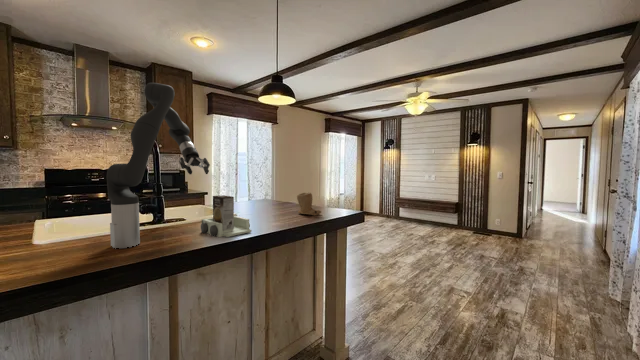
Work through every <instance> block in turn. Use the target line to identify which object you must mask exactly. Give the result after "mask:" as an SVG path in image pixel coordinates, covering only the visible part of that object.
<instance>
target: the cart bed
mask: <svg viewBox="0 0 640 360" xmlns="http://www.w3.org/2000/svg"><path fill="white" fill-rule="evenodd" d="M250 223H251V222H250V218H244V217H241V216H237V215H234V229H229V230H224V231H223V225H222V223H218V222H214V221H213V217H211V218H203V219H201V224H200V231H201V233H203V234H209V235H211V236H212V237H218V238H223V237H227V238H229V237H234V236H238V235H243V234H247V233H248V234H249V233H251V232H252V229H251V228H250V227H251V224H250Z"/></svg>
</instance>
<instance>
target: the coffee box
mask: <svg viewBox="0 0 640 360" xmlns="http://www.w3.org/2000/svg"><path fill="white" fill-rule="evenodd" d="M234 198H235V197H234V196H230V195H224V194H223V195H222V194H221V195H212V218H213V221H214V222H218V223H222V225H223V231H224V230H229V229H234V216H235V211H234V210H235V209H234V208H235V205H234V204H235V199H234Z"/></svg>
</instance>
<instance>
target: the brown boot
mask: <svg viewBox="0 0 640 360" xmlns="http://www.w3.org/2000/svg"><path fill="white" fill-rule="evenodd" d="M296 199H297V203H298V206H299V208H300V209H299V210H298V211H297V214H303V215H306V216H318V215H320V214H321V213H322V210H318V209H314V208H313V194H312V192H309V191H308V192H302V193H298V194H296Z"/></svg>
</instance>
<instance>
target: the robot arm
mask: <svg viewBox="0 0 640 360" xmlns="http://www.w3.org/2000/svg"><path fill="white" fill-rule="evenodd" d="M175 95H176V94H175V89H174V88H173V87H172V86H171V85H169V84H163V83H158V82H148V83H146V85H145V87H144V96H145V98H146V100H147V102H148V103H150V105H151V106H152V107H153V108H152V109H150V111H147V112H146V113H145V114H143V115H142V116H140V117H139V118H138V119H136V121H135V123H134V125H133V126H132V127H133V128H132V129H131V132H130V141H131V144H132V153H131V157H130V159H129V160H128V162H127V163H113V164H111V165H110V166H109V167H108V169H107V171H106V185H107V186H106V188H107V196H108V198H109V200H110V209H111V211H110V214H111V222H110V223H109V228H110V229H109V233H110V235H109V237H110V247H111V246H112V247H111V248H112V249H114V248H115V249H114V250H117V249H116V248H119V249H127V247H129V248H132V246H134V247H136V245H137V246H139V245H140V244H141V237H140V236H141V234H140V233H141V231H140V201H139V200H140V199H139V196H138V195H137V194H135V193H133V192H132V191H131V189H130V188H131V187H137V186H138V185H139V184H141V182H142V180H143V177H144V176H145V171H146V169H147V168H146V167H147V164H148V160H149V158H150V156H151V155H150V154H151V151H152V149H153V146H154V144H155V142H156V140H157V138H158V135H159V134H160V133H159V132H160V129H161V127H162V125H163V122H164V121H165V122H166V124H167V126H168V128H169V129H168V134H169V136H170V138H172V139H173V141H175V142H176V143H177V145H178V147H179V150H180V154H181V155H182V156H181V157H180V158H179V161H178V162H179V165H180V168H181V169H183V170H184V169H185V170H186V172H187V173H188V174H189V175H192V174H193V170H192V167H198V168H201V169H203V171H204V174H205V175H208V174H209V173H210V172H209V171H210V170H209V168H210V166H211V164H210V162H209V160H208V159H207V158H206V157H203V158H201V157H200V154H199V152H198V150H197V149H196V146H195V145H194V143H193V141H192V139H191V138H190V136H189V135H190V133H191V130H190V127H189V126H188V125H187V124H186V123H184V121H182V119H181V117H180V115H179V114H178V112H177V111H176V110H174V109H173V108H172V104H173V102H174V100H175ZM138 244H139V245H138Z"/></svg>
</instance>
